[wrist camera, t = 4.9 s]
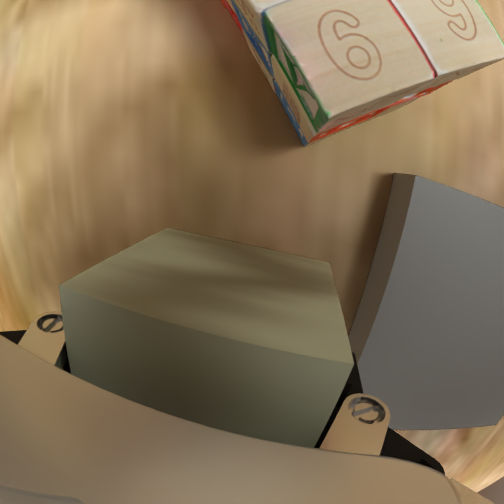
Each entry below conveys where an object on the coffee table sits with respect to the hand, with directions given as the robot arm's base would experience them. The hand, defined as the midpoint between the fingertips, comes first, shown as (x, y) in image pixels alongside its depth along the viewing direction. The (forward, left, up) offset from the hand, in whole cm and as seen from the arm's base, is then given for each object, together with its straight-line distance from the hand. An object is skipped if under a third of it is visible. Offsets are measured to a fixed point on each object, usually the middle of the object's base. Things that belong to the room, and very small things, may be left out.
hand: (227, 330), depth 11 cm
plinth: (-13, 0, -6) cm, 15 cm away
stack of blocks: (+2, -17, -6) cm, 19 cm away
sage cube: (0, 0, -1) cm, 1 cm away
